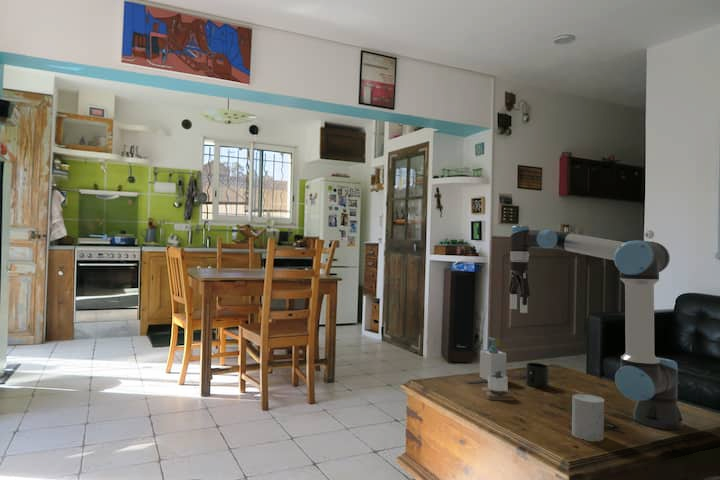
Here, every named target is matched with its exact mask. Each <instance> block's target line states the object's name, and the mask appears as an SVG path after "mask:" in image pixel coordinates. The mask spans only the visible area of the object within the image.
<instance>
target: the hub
mask: <svg viewBox="0 0 720 480" xmlns="http://www.w3.org/2000/svg"><path fill="white" fill-rule="evenodd" d="M508 383H509V377H508V376H507V375H506V376H505V375H501V378H497V377H495V374H489V375H488V381H487V388H489V389H491V390H495V391H505V390H508V386H509V385H508ZM508 391H509V390H508Z"/></svg>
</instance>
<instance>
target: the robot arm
mask: <svg viewBox="0 0 720 480" xmlns="http://www.w3.org/2000/svg"><path fill="white" fill-rule="evenodd" d="M532 248H533V249H553V250H560V251H565V252H570V253H571V252H572V253H577V254H581V255H585V256H586V255H588V256H591V257H596V258H601V259H606V260H612V261H613V262H614V265H615V267H616V268H617V270H618V271H619V280H620V281H622V283H623V284H624V292H625V293H624V298H625V299H624V300H625V301H624V303H625V304H624V306H625V307H624V308H625V309H624V311H625V312H624V313H625V314H624V318H625V319H624V320H625V321H624V322H625V327H624V330H625V331H624V332H625V335H624V336H625V339H624V340H625V352H624V354H622V355H620V367H619V368H618V369H617V371H616V372H615V375H614V381H615V386H616V387H617V389H618V390H619V391H620V392H621V394H622V395H623V396H625V397H626V398H628V399H630V400H632V401H635V402H636V404H635V406H634V409H633V411H632V412H633V414H632V419H633V420H634V421H635V422H637V423H639V424H640V425H645V426H648V427H651V428H655V429H660V428H661V429H662V430H668V429H671V430H670V431H672V429H673V430H674V431H675V429H677V430H681V429H683V428H684V419H683V417H682V416H683V415H682V414H681V410H680V408H679V405H678V377H679V376H678V373H679V369H678V363H677V361H675V360H672V359H669V358H663V357H657V356H656V355H655V285H656V284H657V283H658V282H659V281H660V273H661V272H663V271H664V270H665V269H667V268H668V266H669V263H670V259H671V257H670V253H669V250H668V249H667V248H666V247H665V246H664V245H663V244H660V243H659V242H655V241H649V240H639V239H637V240H628V241H626V242H624V241H619V240H614V239H613V240H612V239H608V238H600V237H595V236H591V235H590V236H589V235H588V236H587V235H581V234H576V233H569V232H566V231H560V230H559V231H557V230H556V231H555V230H553V229H535V230H534V229H533V230H531V229H530V227H529V226H528V225H512V226H511V229H510V253H509V254H510V256H509V261H510V263H509V266H510V267H509V269H510V271H511V276H510V283H509V286H508V292H509V293H510V294H509V295H510V296H509V297H510V298H509V299H510V302H509V303H510V304H509V309H511V310H518V308H517V307H518V289H519V292H520V295H519V297H520V303H519V304H520V307H519V310H520V311H519V312H520V313H521V314H528V302H529V301H528V297H530V296H531V294H530V287H529V280H528V273H525V272H527V271H529V265H530V264H529V257H530V251H529V250H530V249H532ZM682 427H683V428H682Z"/></svg>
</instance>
